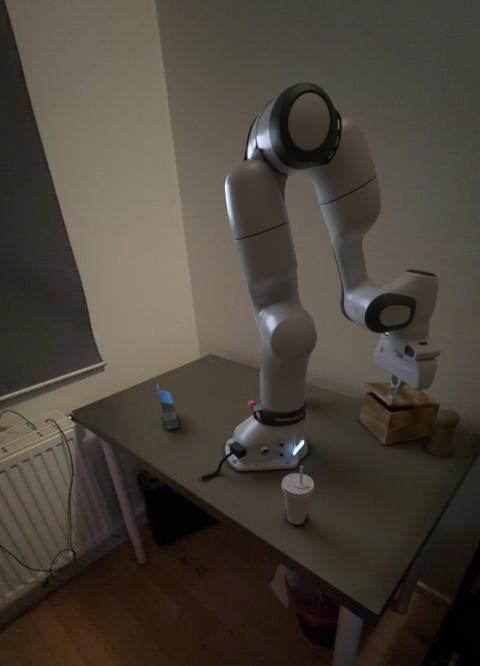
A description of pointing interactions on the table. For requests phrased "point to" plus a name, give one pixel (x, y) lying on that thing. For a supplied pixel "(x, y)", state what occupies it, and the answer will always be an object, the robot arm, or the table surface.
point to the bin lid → (401, 395)
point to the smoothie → (297, 495)
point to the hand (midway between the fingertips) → (395, 390)
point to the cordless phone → (168, 409)
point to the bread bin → (397, 420)
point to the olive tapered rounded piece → (443, 433)
